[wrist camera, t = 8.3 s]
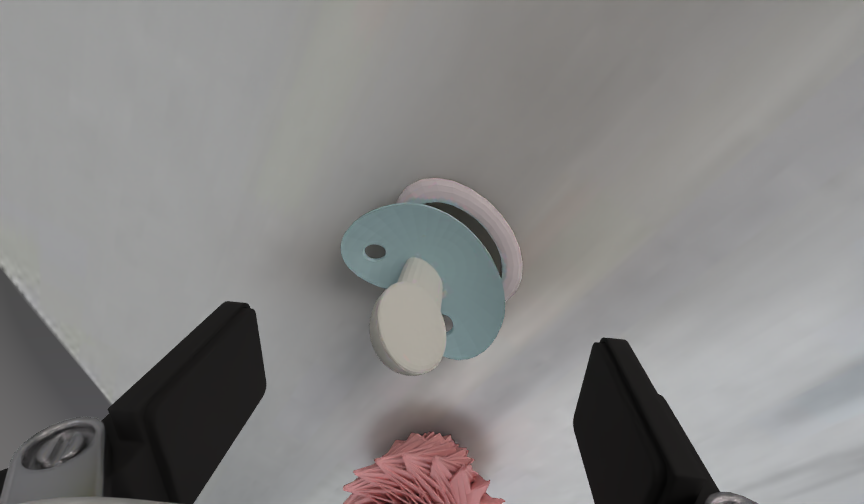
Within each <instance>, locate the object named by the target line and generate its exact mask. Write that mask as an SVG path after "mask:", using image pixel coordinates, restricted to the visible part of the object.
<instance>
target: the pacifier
mask: <svg viewBox="0 0 864 504" xmlns="http://www.w3.org/2000/svg"><path fill="white" fill-rule="evenodd" d="M430 202H441V203H446V204H450V205H453V206H455V207H457V208H459V209H461V210H463V211H465V212H466V213H468V214H469V215H470V216H472V217H473V218H475V219H476V220H477V221H478V222H479V223H480V224H481V225H482V226H483V227H484V228H485V229H486V231H487V232H488V233H489V235H490V236H491V238H492V239H493V241H494V242H495V244H496V247H497V249H498V251H499V253H500V257H501V272H500V274H499V272H498V270H497V268H496V265H495V263H494V261H493V259H492V257H491V256H490V254H489V252H488V251H487V249H486V248H485V246H484V245H483V244H482V242H481V241H480V240H479V239H478V238H477V236H476V235H475V234H474V233H473V232H472V231H471V230H470V229H469V228H468V227H467V226H465V225H464V224H463V223H461V222H460V221H459V220H457V219H456V218H454V217H453V216H451V215H450V214H448V213H445V212H443V211H441V210H439V209H437V208H434V207H431V206H427V205H423V204H425V203H430ZM372 244H377V245H380V246H382V247H383V248H384V249H385V251H386V254H385V255H384V256H383V257H381V258H377V259H374V258H371V257H368V256H367V255H366V253H365V247H367V246H368V245H372ZM341 255H342V257H343V259H344V261H345V263H346V265H347V266H348V268H349V269H350V270H351V271H353V272H354V273H355V274H356V275H357V276H358V277H360V278H362V279H363V280H365V281H367V282H369V283H371V284H373V285H376V286H379V287H382V288H385V289H386V290H385V291H384V292H383V293H382V294H381V295H380V297H379V298H378V299H377V301H376V303H375V305H374V307H373V310H372V313H371V317H370V324H369V327H370V338H371V342H372V346H373V348H374V350H375V352H376V354H377V356H378V357H379V359H380V360H381V361H382V362H383V363H384V364H385V365H386V366H387V367H388V368H390V369H391V370H393V371H395V372H397V373H400V374H403V375H410V376H416V375H421V374H425V373H428V372H430V371H432V370H433V369H434V368H435V367H436V366H437V365H438V364H439V363H440V361H441V359H442V357H443V356H444V357H447V358H449V359H455V360H463V359H470V358H473V357H475V356H477V355H479V354H480V353H482V352H484V351H485V350H486V349H487V348H488V347H489V346H490V345H491V344H492V342H493V341H494V339H495V338H496V336H497V334H498V332H499V329H500V328H501V325H502V322H503V319H504V314H505V301H507V300H508V299H509V298H510V297H511V296H512V295H513V294H514V293H515V292H516V290H517V288H518V286H519V284H520V282H521V280H522V271H523V262H522V255H521V249H520V247H519V244H518V242H517V239H516V237H515V235H514V232H513V231H512V229H511V228H510V226H509V225H508V223H507V222H506V220H505V219H504V217H503V216H502V214H501V213H500V212H499V211H498V210H497V209H496V208H495V207H494V206H493V205H492V204H491V203H490V202H489V201H488V200H487V199H485V198H484V197H482V196H481V195H480V194H478V193H477V192H475V191H474V190H472V189H471V188H469V187H466V186H464V185H462V184H460V183H457V182H455V181H452V180H447V179H441V178H428V179H420V180H418V181H416V182H414V183H412V184H411V185H409V186H407V187H406V188H405V190H404V191H403V192H402V194H401V195H400V196H399V198H398V201H397V204H392V205H387V206H383V207H380V208H377V209H374V210H372V211H370V212H368V213H366V214H364V215H363V216H361V217H360V218H358V219H357V220H356V221H355V222H354V223H353V224H352V225H351V226H350V227H349V229H348V230H347V231H346V232H345V234H344V236H343V238H342V242H341ZM442 315H447V316H448V317H449V318H450V319H451V320H452V322H453V328H452V329H451V330H450V331H448V332H446V328H445V323H444V319H443V316H442Z"/></svg>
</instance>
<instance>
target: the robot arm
mask: <svg viewBox="0 0 864 504" xmlns="http://www.w3.org/2000/svg"><path fill="white" fill-rule="evenodd" d="M265 390H266V377H265V371H264V364H263V358H262V351H261V344H260V338H259V331H258V325H257V318H256V313H255V310H254V309H251V308H250V306H249V304H247V303H240V302H230V301H227V302H224V303H223V304H221V305H220V306H219V307H218V308H217V309H216V310H215V311H214V312H213V313H212V314H211V315H209V316H208V317H207V318H206V319H205V320H204V321H203V322H202V323H201V324H200V325H199V326H197V327H196V328H195V329H194V330H193V331H192V332H191V333H190V334H189V335H188V336H187V337H186V338H184V339H183V340H182V341H181V342H180V343H179V344H178V345H177V346H176V347H175V348H174V349H172V350H171V351H170V352H169V353H168V354H167V355H166V356H165V357H164V358H163V359H162V360H160V361H159V362H158V363H157V364H156V365H155V366H154V367H153V368H152V369H151V370H150V371H148V372H147V373H146V374H145V375H144V376H143V377H142V378H141V379H140V380H139V381H138V382H136V383H135V384H134V385H133V386H132V387H131V388H130V389H129V390H128V391H127V392H126V393H124V394H123V395H122V396H121V397H120V398H119V399H118V400H117V401H116V402H115V403H114V404H112V405H111V406H110V407H109V408H108V411H109V414H108V415H107V416H106V417H105V418H104V419H103V420H102V421H100V420H99V419H97V418H93V417H76V418H72V419H68V420H64V421H61V422H59V423H56V424H54V425H51V426H49V427H47V428H45V429H43V430H42V431H40V432H38V433H36V434H35V435H34V436H33V437H31V438H30V439H28V440H27V441H26V442H24V443H23V444H22V445H21V446H20V447H19V449H18V450H17V451H16V452H15V453H14V455H13V457H12V459H11V461H10V464H9V468H7V469H4V470H2V471H0V504H193V503H194V502H195V500H196V499H197V497H198V496H199V494H200V493H201V491H202V490H203V488H204V486H205V485H206V483H207V482H208V480H209V479H210V477H211V476H212V474H213V473H214V471H215V470H216V468H217V466H218V465H219V463H220V462H221V460H222V459H223V457H224V456H225V454H226V453H227V451H228V450H229V448H230V446H231V445H232V443H233V442H234V440H235V439H236V437H237V436H238V434H239V433H240V431H241V430H242V428H243V426H244V425H245V423H246V422H247V420H248V419H249V417H250V416H251V414H252V413H253V411H254V410H255V408H256V406H257V405H258V403H259V402H260V400H261V399H262V397H263V395H264V393H265ZM573 427H574V432H575V436H576V439H577V443H578V446H579V450H580V453H581V457H582V460H583V464H584V467H585V471H586V474H587V478H588V481H589V485H590V488H591V492H592V495H593V499H594V503H595V504H758V503H756V502H754V501H752V500H750V499H748V498H746V497H744V496H741V495H738V494H734V493H731V492H720V491H719V489H718V488H717V486H716V484H715V482H714V481H713V479H712V477H711V476H710V474H709V472H708V471H707V469H706V467H705V466H704V464H703V462H702V461H701V459H700V457H699V455H698V454H697V452H696V450H695V449H694V447H693V445H692V444H691V442H690V440H689V439H688V437H687V435H686V434H685V432H684V430H683V428H682V427H681V425H680V423H679V422H678V420H677V418H676V417H675V415H674V413H673V412H672V410H671V408H670V407H669V405H668V403H667V401H666V400H665V399H664V398H663V396H661V395H659V394H658V393H657V391H656V390H655V388H654V386H653V385H652V383H651V381H650V379H649V378H648V376H647V374H646V372H645V371H644V369H643V367H642V366H641V364H640V362H639V360H638V359H637V357H636V355H635V353H634V352H633V350H632V348H631V347H630V345H629V343H628V342H627V341H626V340H623V339H613V338H602V339H601V340H600V343H598V342H595V343H594V344H593V346H592V350H591V354H590V357H589V361H588V365H587V369H586V372H585V376H584V380H583V384H582V387H581V391H580V395H579V399H578V402H577V406H576V410H575V414H574V419H573Z"/></svg>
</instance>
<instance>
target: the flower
mask: <svg viewBox="0 0 864 504" xmlns="http://www.w3.org/2000/svg"><path fill="white" fill-rule="evenodd" d="M458 446H459V444H455V443H454V440H453V441H452V439H451V434H450V435H446V436H442V435H441V434H440V433H438V434H437V435H436V434H435V433H434V432H430V431H429V432H428V434H426V433H424V434H423V436H421V435H419V434H418V433H417V434H415V433H412V432H411V434H410V435H409V437H408V439H407V440H406V441H404V440H395V442H394V443H393V445H392V447H391V449H390V450H389V452H387V453H386V454H385V455H382V457H381V458H376V459H374V461H375V462H376V463H374V464H373V465H370V466H367V467H364V468H361V469H358V470H354V471H353V473H355V475H356V476H358V478H357V479H356V480H354V481H353V482H351V483H349V484H346V485H344V486H343V490H344V491H347V492H351V493H352V494H351V495H350V496H349V497H348V499H347V500H346V501H345V502H344V503H343V504H502V503H503V502H505V500H503V499H501V498H500V499H498V498H491V497H490V496H489V495H488V494H487V493H486V490H487V488H488V486H489V484H490V480H489V481H485V480H484V479H483V478H482V477H481V476H480V475H479V474H478V473H477V472H475V471H474V470H472V465H471V464H472V463H473V461H474V459H472V458H470V457H467V454H468V452H469V451H468V450H466V449H467V448H461V447H458Z"/></svg>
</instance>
